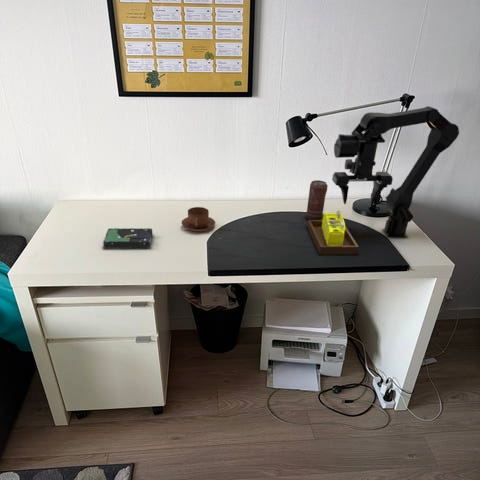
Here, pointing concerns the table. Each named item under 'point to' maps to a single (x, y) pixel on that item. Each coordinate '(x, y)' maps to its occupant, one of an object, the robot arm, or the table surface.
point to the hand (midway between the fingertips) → (357, 203)
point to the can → (316, 200)
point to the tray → (346, 249)
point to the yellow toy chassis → (333, 228)
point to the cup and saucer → (198, 220)
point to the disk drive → (128, 238)
